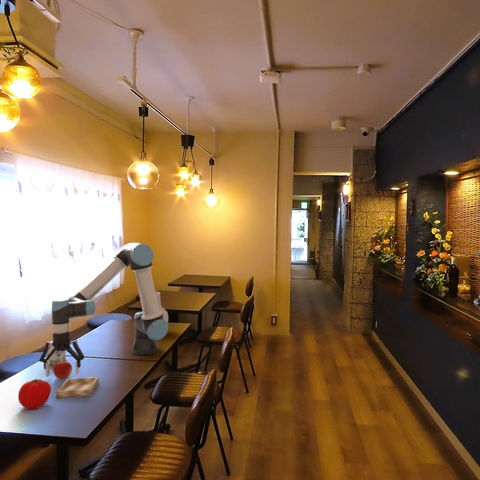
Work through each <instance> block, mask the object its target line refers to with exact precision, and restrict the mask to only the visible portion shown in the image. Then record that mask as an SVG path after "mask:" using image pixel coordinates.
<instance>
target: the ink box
mask: <svg viewBox="0 0 480 480" xmlns="http://www.w3.org/2000/svg"><path fill="white" fill-rule="evenodd" d="M50 342H53V340H52V341H50ZM53 349H54V347H53V345H51V346H50V348H49V350H48V352H47V356H48V355H49V354H50V353H51V351H52V350H53ZM66 352H67V351H66V350H65V351H57V350H56V351H55V352H54V354H53V355H52V356H51V357H50V358H49V360H48V361H50V366H54V365H55V364H56V363H57V362H59V361H63V360H64V361H66V360H67V354H66ZM48 361H47V362H48Z"/></svg>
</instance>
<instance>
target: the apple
mask: <svg viewBox="0 0 480 480" xmlns="http://www.w3.org/2000/svg"><path fill="white" fill-rule="evenodd" d="M72 369H73V365H72V363H70V362H69V361H66V360H63V361H59V362H57V363H56V364H55V365H53V367H52V370H53V374H54V376H55V377H56V379H58V380H64V379H66V378H68V377H69V376H71V373H72Z"/></svg>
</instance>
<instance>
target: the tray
mask: <svg viewBox="0 0 480 480" xmlns="http://www.w3.org/2000/svg"><path fill="white" fill-rule="evenodd" d="M99 381H100V379H99V376H90V377H89V376H88V377H70V378H68V377H67V379H65V381H64V382H63V383H62V384H61V385H60V386H59V388H58V389H57V390H56V391H55V398H56V399H70V398H71V399H72V398H87V397H88V398H90V397H91V396H92V394H93V393H94V392H95V390H96V388H97V387H98V385H99V383H100V382H99Z"/></svg>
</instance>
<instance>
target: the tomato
mask: <svg viewBox="0 0 480 480" xmlns="http://www.w3.org/2000/svg"><path fill="white" fill-rule="evenodd" d="M51 392H52V387H51V384H50V383H49V382H48V381H46V380H43V379H40V378H39V379H37V378H35V379H32V380H30V381H26V382H24V383H23V384H22V385H21V387H20V388H19V391H18V402H19V404H20V405H21V406H22V407H24V408H25V409H28V410H35V409H37V408H40V407H42V406H44V405H45V404H46V403H47V402H48V400H49V398H50V396H51V394H52V393H51Z"/></svg>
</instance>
